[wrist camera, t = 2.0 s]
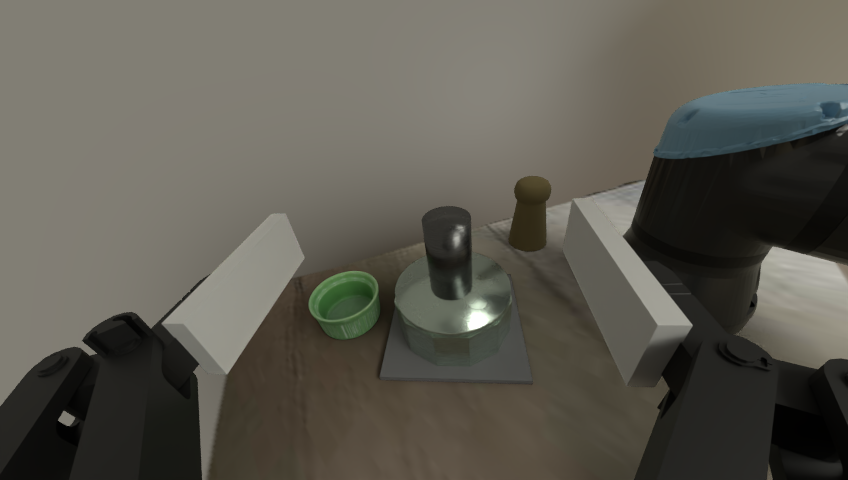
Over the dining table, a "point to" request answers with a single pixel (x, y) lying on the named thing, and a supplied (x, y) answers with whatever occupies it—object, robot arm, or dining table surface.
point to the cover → (453, 295)
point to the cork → (530, 214)
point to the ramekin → (346, 304)
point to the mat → (494, 369)
